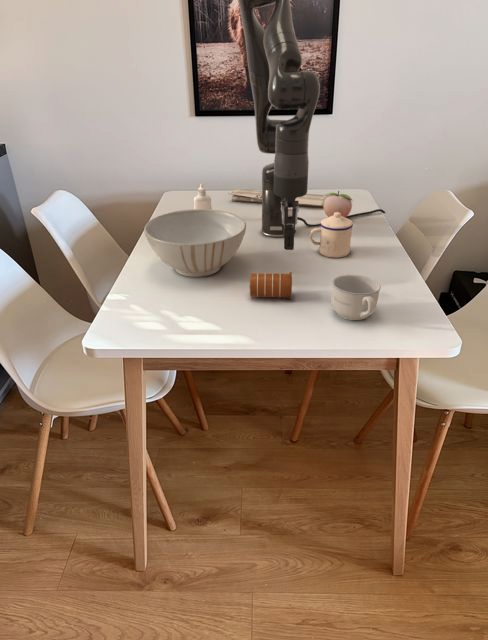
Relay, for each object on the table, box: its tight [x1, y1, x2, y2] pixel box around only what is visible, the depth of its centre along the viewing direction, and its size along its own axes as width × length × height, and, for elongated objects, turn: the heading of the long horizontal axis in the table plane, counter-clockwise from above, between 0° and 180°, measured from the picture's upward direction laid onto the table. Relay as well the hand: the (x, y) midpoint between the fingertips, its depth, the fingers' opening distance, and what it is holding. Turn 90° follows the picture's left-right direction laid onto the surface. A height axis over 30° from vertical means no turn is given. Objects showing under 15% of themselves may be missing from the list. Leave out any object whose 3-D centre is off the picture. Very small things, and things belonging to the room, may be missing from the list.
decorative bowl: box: [143, 208, 247, 278], centre depth 151 cm, size 27×27×12 cm
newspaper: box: [227, 188, 329, 208], centre depth 201 cm, size 35×12×4 cm, turn 76°
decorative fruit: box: [323, 190, 353, 217], centre depth 181 cm, size 9×8×10 cm
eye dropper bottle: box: [193, 183, 213, 210], centre depth 183 cm, size 4×6×12 cm
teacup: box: [330, 274, 381, 321], centre depth 127 cm, size 14×11×8 cm
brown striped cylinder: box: [249, 271, 293, 300], centre depth 136 cm, size 10×6×6 cm, turn 87°
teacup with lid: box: [308, 212, 354, 259], centre depth 159 cm, size 12×9×12 cm
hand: (288, 242), depth 131 cm, fingers open, 8 cm apart
